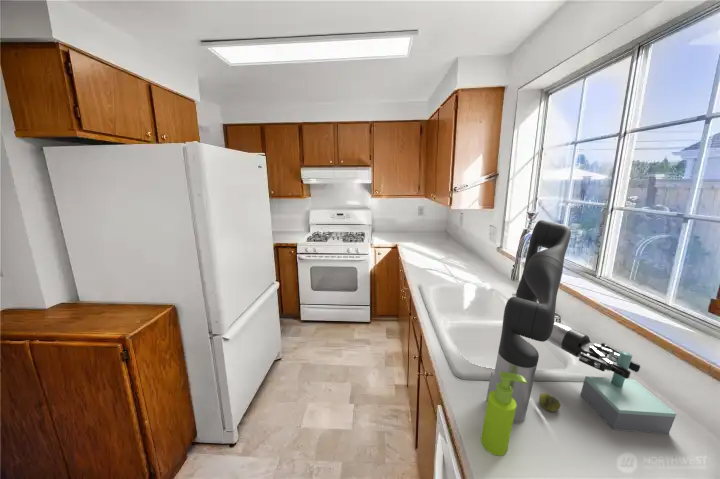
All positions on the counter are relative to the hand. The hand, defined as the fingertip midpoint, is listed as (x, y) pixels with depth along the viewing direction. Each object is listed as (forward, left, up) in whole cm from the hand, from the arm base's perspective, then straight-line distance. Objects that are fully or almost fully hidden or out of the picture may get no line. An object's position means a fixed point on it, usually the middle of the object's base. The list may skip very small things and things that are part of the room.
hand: (634, 372), depth 77 cm
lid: (-1, -1, -8) cm, 8 cm away
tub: (-1, -1, -13) cm, 13 cm away
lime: (-21, -1, -13) cm, 25 cm away
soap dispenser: (-41, -13, -13) cm, 45 cm away
